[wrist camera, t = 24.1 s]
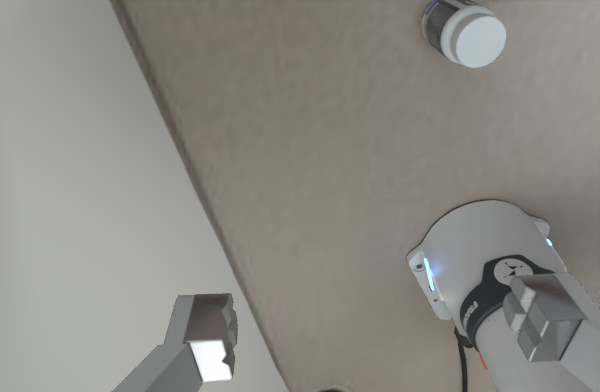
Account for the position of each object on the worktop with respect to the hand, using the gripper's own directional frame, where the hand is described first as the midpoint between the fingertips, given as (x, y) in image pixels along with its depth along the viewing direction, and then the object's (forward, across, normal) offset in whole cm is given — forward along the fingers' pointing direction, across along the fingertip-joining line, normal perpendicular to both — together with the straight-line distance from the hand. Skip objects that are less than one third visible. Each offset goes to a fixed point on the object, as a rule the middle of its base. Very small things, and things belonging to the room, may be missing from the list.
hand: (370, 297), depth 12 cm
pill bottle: (+33, -13, 0) cm, 36 cm away
